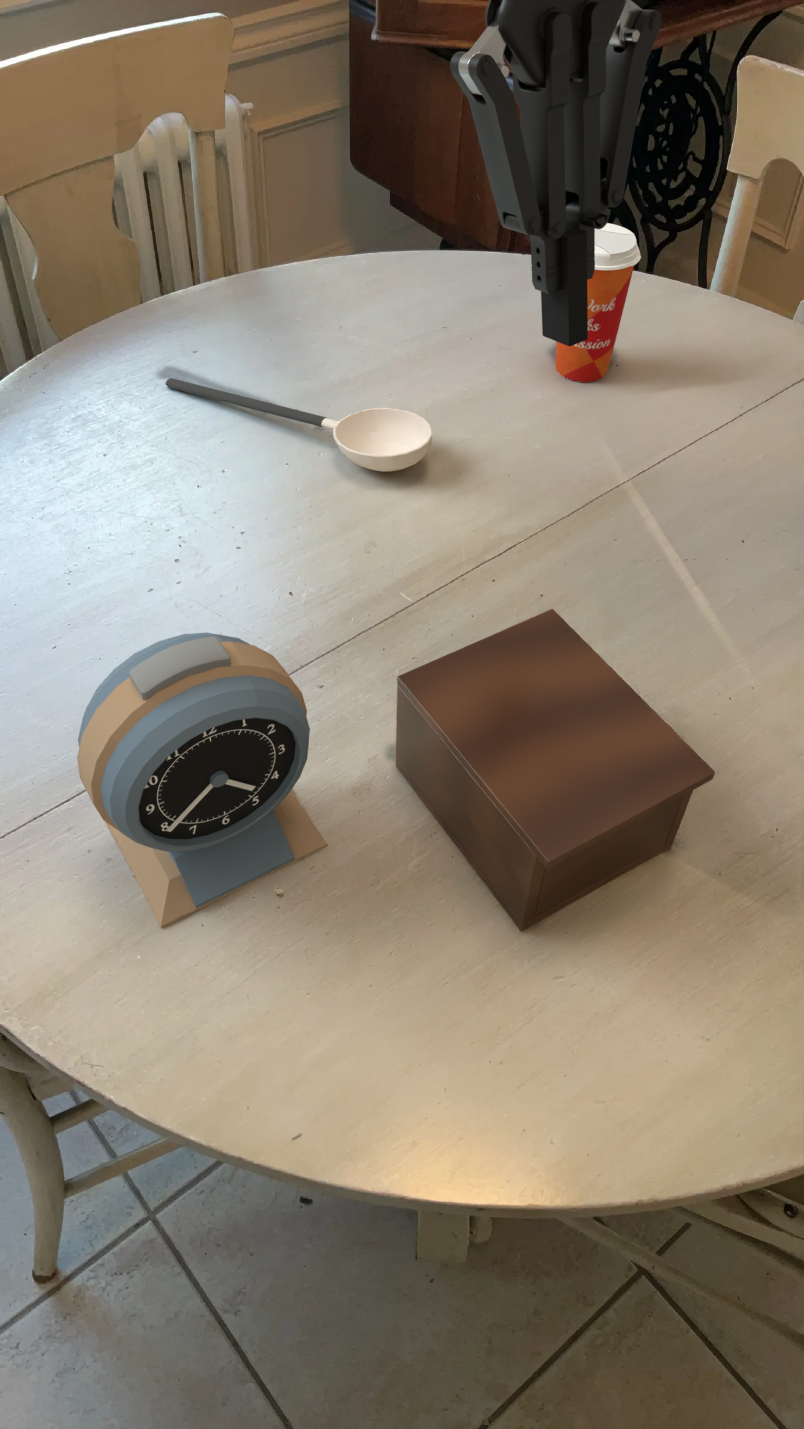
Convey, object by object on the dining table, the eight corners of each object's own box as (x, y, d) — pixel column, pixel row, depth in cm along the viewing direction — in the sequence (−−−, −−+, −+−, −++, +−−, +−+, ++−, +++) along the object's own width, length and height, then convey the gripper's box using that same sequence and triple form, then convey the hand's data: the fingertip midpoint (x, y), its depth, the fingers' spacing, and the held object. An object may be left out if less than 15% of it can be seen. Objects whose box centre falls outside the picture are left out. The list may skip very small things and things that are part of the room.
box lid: (712, 779, 65) (715, 772, 65) (546, 870, 61) (548, 862, 60) (551, 616, 74) (552, 608, 74) (396, 684, 70) (396, 676, 69)
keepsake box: (672, 847, 73) (701, 768, 66) (521, 932, 68) (536, 857, 61) (536, 699, 81) (551, 616, 75) (395, 766, 77) (396, 684, 70)
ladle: (411, 496, 96) (405, 455, 93) (156, 435, 109) (144, 397, 106) (451, 450, 101) (447, 409, 98) (202, 396, 114) (192, 359, 110)
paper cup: (531, 372, 111) (548, 241, 101) (567, 341, 116) (586, 212, 105) (597, 396, 109) (621, 264, 98) (631, 364, 113) (657, 234, 102)
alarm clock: (146, 935, 68) (88, 766, 54) (91, 827, 73) (26, 649, 60) (340, 839, 73) (330, 663, 59) (275, 745, 78) (253, 564, 65)
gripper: (605, -150, 57) (604, 294, 72) (403, -111, 52) (447, 353, 67) (707, -160, 51) (683, 321, 67) (492, -118, 47) (519, 386, 62)
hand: (564, 337), depth 67 cm, fingers closed
